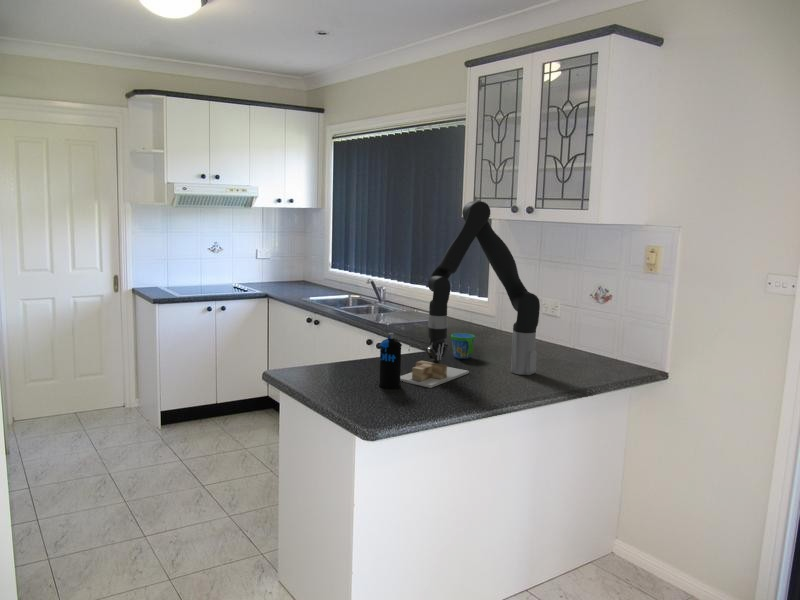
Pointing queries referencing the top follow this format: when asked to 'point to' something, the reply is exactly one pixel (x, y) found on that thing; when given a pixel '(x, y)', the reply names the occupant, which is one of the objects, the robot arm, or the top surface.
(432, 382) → the mat
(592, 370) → the top surface
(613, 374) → the top surface
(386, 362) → the aerosol can
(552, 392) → the top surface
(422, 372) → the t block
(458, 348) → the snack cup
